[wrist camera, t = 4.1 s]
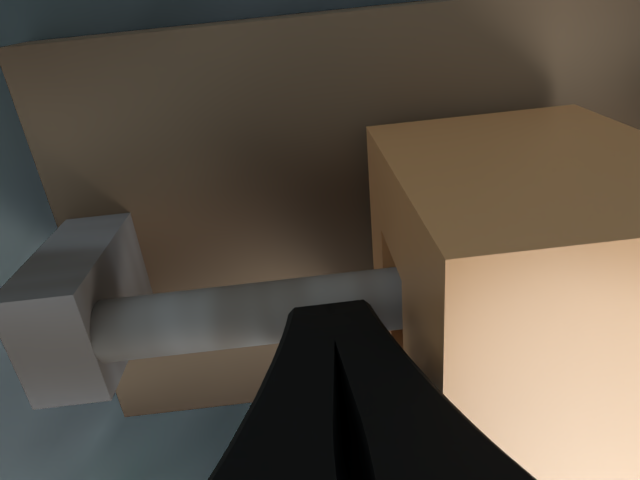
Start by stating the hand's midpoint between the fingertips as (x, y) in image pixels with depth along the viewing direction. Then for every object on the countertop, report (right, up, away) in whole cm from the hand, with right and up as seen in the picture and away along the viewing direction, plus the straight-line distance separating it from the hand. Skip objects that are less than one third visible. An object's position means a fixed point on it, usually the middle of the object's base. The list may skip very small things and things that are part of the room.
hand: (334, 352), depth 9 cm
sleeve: (+3, +2, +4) cm, 5 cm away
